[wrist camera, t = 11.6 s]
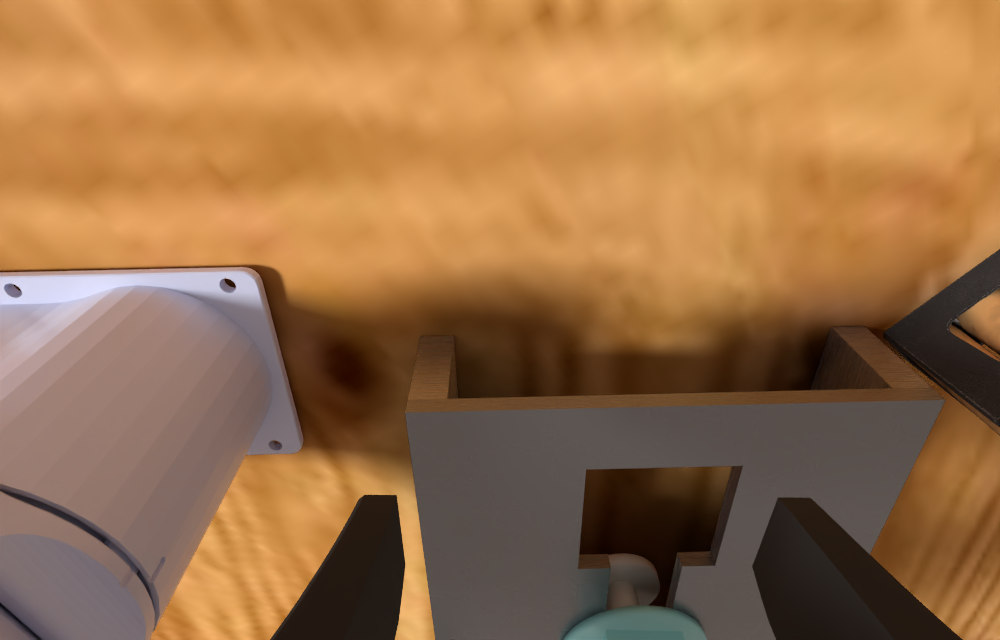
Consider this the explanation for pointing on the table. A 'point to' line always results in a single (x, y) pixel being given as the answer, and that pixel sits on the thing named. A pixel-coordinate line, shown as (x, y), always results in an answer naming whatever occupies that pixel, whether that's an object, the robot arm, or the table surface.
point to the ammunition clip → (959, 340)
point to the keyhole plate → (645, 444)
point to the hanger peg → (635, 608)
